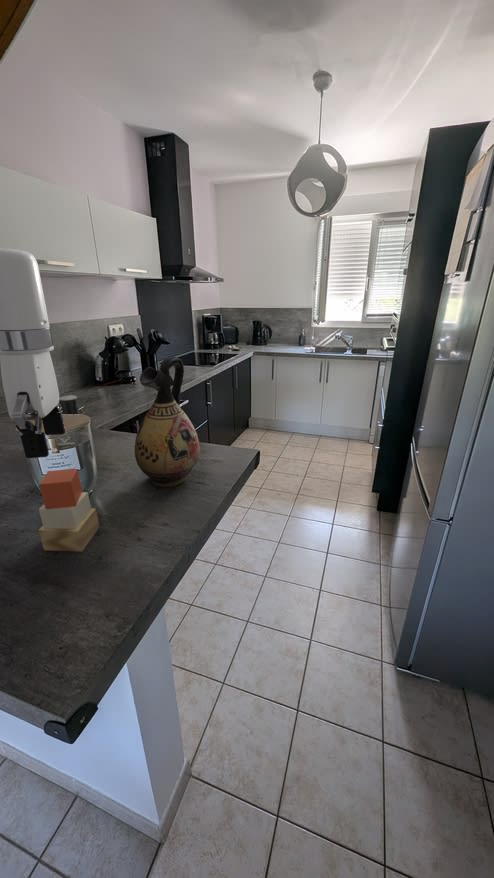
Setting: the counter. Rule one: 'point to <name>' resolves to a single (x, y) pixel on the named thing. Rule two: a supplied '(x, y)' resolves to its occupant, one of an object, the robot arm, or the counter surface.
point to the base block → (70, 535)
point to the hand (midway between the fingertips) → (47, 444)
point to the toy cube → (61, 488)
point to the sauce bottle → (69, 404)
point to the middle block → (66, 514)
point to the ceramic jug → (166, 429)
